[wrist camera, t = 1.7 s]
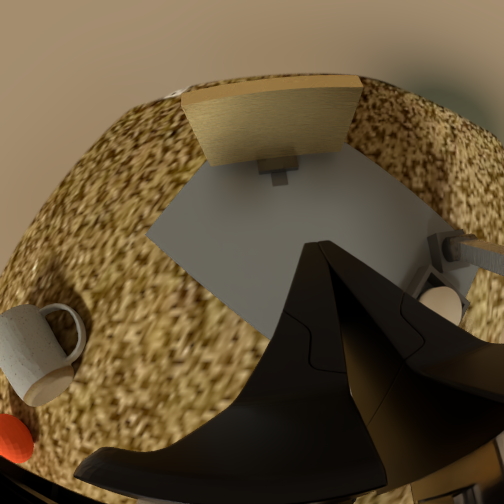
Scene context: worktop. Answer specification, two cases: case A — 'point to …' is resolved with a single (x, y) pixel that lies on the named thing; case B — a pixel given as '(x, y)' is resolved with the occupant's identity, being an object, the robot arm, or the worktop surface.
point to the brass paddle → (273, 119)
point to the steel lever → (474, 252)
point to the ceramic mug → (36, 353)
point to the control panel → (302, 230)
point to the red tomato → (15, 439)
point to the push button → (443, 303)
